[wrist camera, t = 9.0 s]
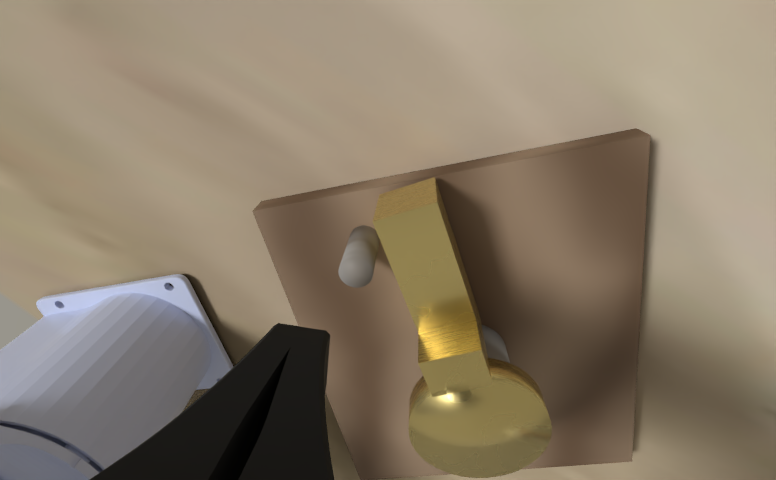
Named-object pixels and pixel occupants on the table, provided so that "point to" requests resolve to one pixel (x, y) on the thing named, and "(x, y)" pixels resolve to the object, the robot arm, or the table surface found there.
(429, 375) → the door handle
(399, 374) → the base
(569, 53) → the table surface
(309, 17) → the table surface
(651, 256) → the table surface
